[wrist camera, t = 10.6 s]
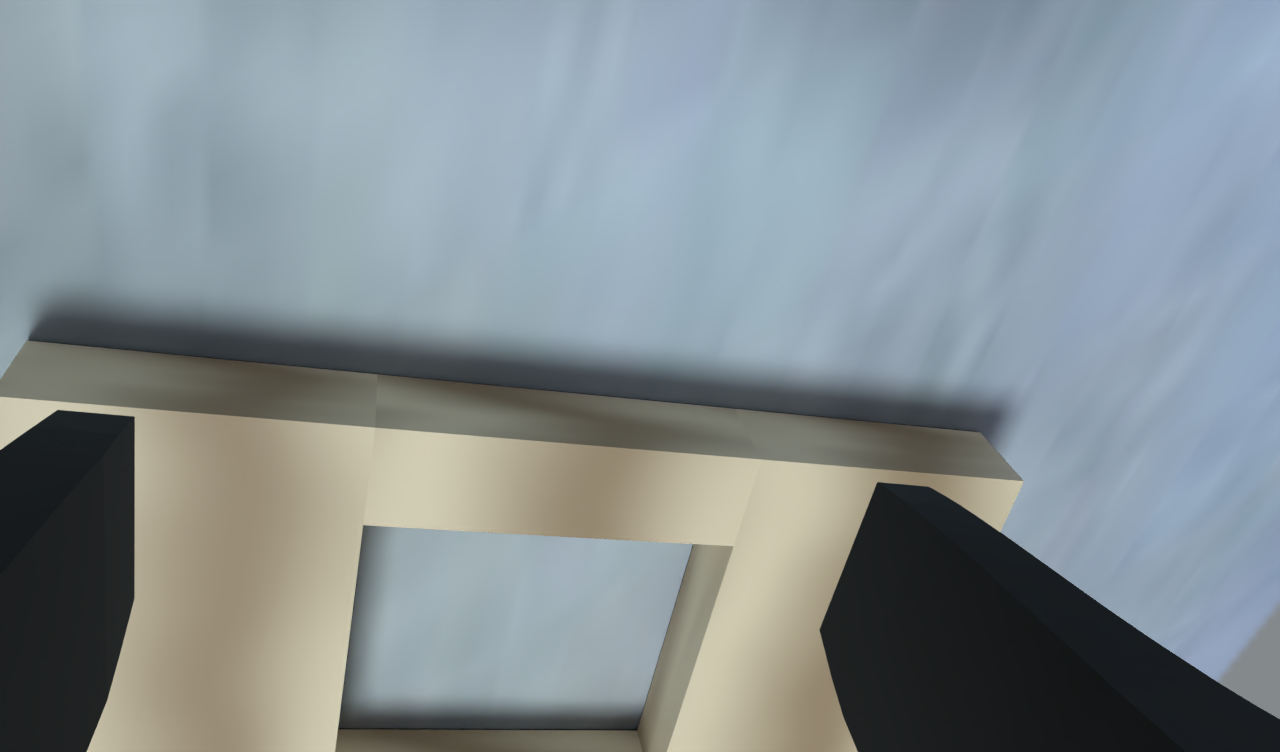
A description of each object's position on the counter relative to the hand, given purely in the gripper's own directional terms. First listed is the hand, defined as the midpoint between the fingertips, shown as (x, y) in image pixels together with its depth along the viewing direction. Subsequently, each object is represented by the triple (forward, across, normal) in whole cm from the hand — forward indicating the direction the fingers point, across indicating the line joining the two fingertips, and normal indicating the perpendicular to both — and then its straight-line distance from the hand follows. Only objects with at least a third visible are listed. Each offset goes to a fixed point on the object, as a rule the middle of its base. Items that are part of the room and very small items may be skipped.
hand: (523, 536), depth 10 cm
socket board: (+10, -2, +10) cm, 15 cm away
